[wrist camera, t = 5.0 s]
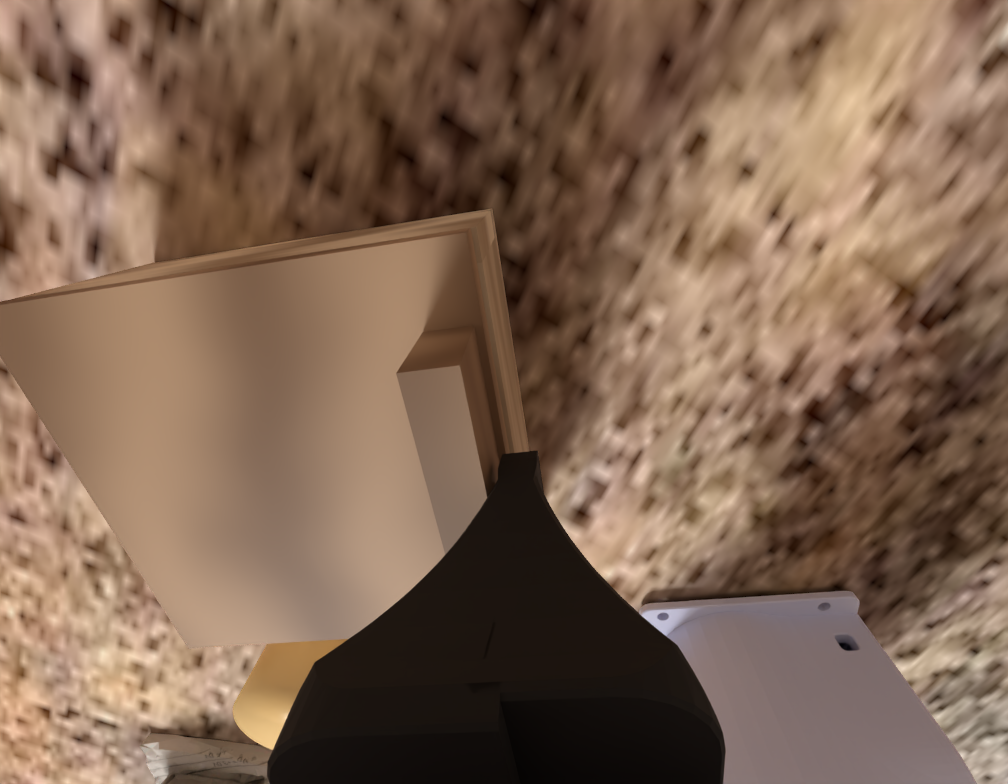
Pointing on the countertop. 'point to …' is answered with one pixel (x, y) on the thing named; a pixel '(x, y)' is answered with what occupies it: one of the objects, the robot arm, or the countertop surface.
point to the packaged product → (204, 760)
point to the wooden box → (475, 220)
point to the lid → (275, 428)
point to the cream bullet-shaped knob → (276, 687)
